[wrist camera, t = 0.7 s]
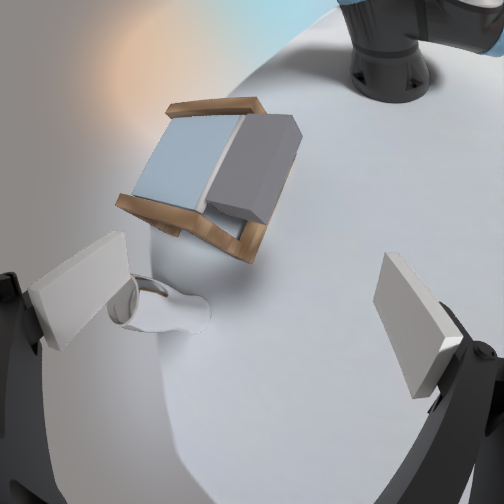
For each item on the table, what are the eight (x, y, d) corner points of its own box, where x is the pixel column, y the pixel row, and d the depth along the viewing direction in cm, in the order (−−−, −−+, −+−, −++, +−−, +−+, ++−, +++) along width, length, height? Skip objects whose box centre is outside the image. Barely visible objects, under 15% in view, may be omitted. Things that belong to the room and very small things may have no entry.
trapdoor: (263, 234, 30) (246, 219, 27) (142, 200, 41) (124, 190, 38) (305, 130, 32) (294, 108, 28) (181, 126, 43) (167, 112, 39)
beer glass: (208, 287, 43) (137, 261, 31) (217, 330, 41) (143, 321, 28) (175, 300, 46) (102, 281, 33) (182, 341, 43) (106, 334, 30)
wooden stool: (209, 146, 53) (167, 104, 41) (296, 154, 44) (263, 96, 32) (167, 233, 51) (111, 204, 39) (252, 264, 41) (197, 232, 30)
